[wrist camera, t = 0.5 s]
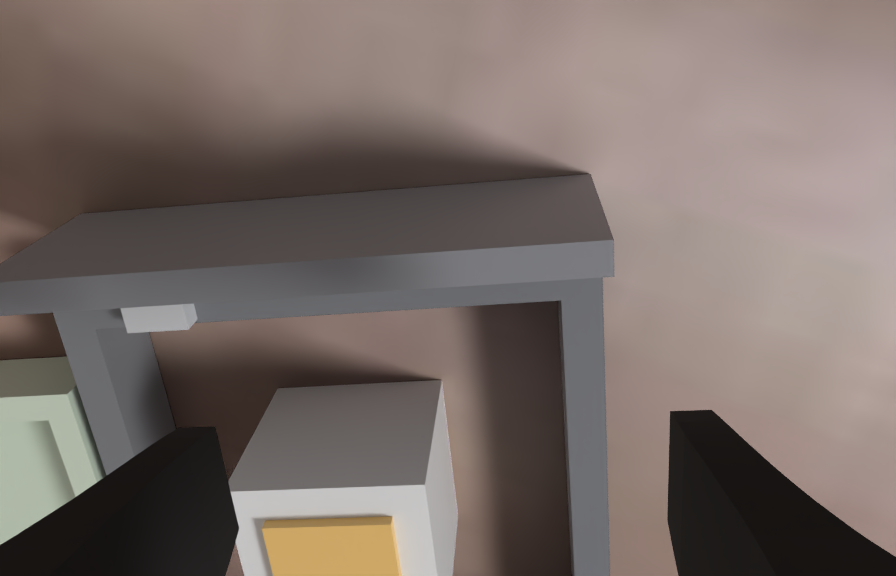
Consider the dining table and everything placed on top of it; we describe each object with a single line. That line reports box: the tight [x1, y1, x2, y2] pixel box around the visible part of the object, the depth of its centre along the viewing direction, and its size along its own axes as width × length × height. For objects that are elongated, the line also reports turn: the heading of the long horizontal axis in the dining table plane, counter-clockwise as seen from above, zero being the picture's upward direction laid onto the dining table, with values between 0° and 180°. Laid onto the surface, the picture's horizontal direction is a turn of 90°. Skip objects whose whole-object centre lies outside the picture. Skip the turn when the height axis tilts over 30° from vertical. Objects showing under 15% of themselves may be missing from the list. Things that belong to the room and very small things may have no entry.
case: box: [0, 174, 614, 576], centre depth 22 cm, size 15×14×5 cm
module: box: [228, 380, 458, 576], centre depth 22 cm, size 5×5×5 cm
